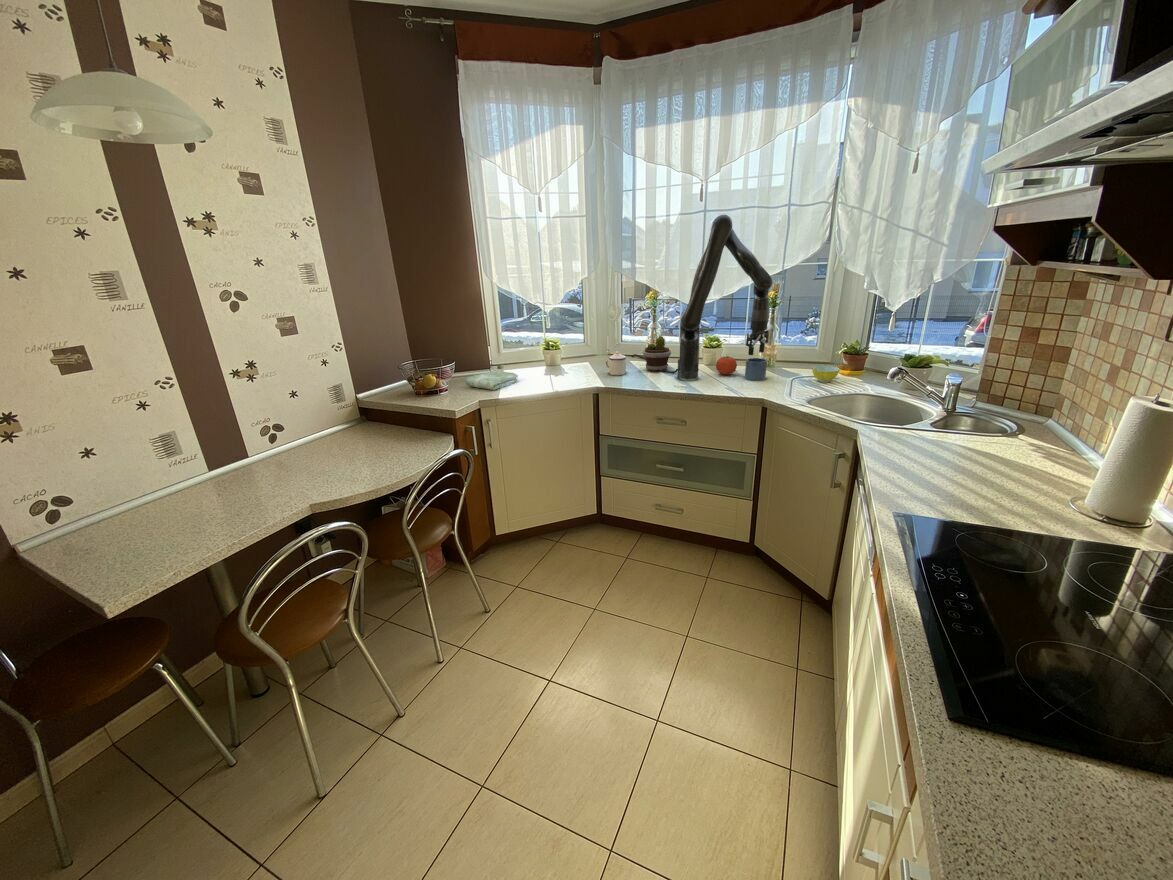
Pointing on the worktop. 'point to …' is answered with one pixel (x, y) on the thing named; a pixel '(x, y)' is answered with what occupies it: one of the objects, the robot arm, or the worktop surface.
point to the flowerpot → (657, 355)
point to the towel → (492, 380)
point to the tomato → (726, 365)
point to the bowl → (825, 372)
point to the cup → (755, 369)
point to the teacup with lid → (617, 364)
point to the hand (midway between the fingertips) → (756, 353)
